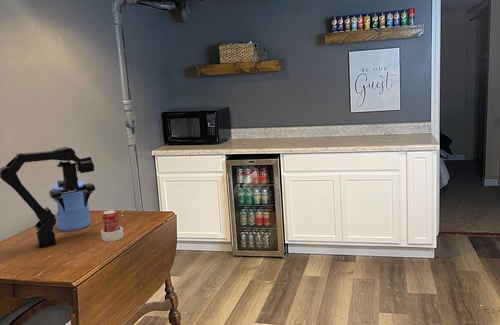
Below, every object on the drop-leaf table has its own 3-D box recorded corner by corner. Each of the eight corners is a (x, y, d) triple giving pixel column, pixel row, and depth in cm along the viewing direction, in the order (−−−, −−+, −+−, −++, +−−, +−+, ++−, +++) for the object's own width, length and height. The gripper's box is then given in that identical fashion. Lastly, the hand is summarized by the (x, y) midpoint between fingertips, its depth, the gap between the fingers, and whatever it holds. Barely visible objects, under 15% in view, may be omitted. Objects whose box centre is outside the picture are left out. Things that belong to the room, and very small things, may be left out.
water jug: (96, 221, 241) (89, 166, 236) (80, 231, 226) (72, 173, 221) (68, 221, 244) (60, 167, 239) (50, 231, 228) (42, 174, 224)
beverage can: (114, 234, 216) (111, 209, 214) (123, 237, 212) (119, 211, 210) (102, 239, 211) (99, 213, 209) (111, 241, 208) (107, 214, 205)
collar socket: (106, 243, 206) (104, 234, 205) (99, 238, 213) (98, 229, 213) (126, 237, 211) (125, 229, 210) (119, 233, 218) (118, 224, 218)
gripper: (86, 169, 224) (90, 201, 227) (44, 176, 214) (49, 210, 217) (93, 172, 215) (97, 206, 218) (49, 180, 205) (54, 215, 208)
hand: (75, 209), depth 215 cm, fingers open, 9 cm apart
